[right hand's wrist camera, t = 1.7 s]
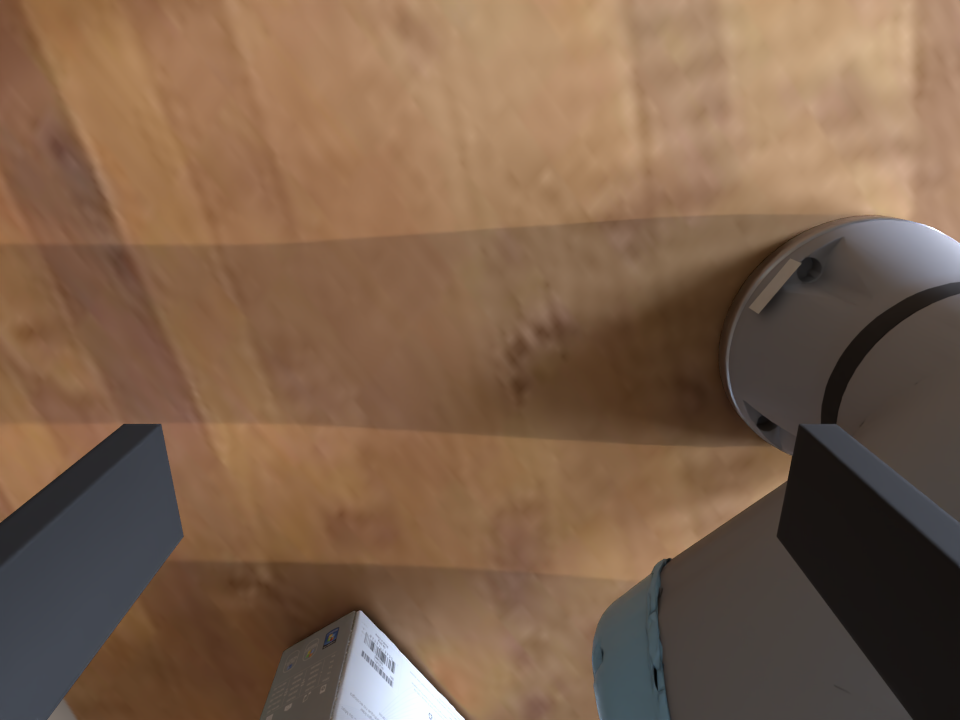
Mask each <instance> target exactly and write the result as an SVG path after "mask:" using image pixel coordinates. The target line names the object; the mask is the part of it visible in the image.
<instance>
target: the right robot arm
mask: <svg viewBox="0 0 960 720" xmlns="http://www.w3.org/2000/svg"><path fill="white" fill-rule="evenodd" d="M719 369H720V376H721V380H722V384H723V388H724V390H725V393H726V395H727V397H728V399H729V401H730V403H731V405H732V406H733V408H734V409H735V411H736V412H737V414H738V415H739V416H740V417H741V418H742V419H743V420H744V421H745V422H746V424H747V425H748V426H749V427H750V428H751V429H752V430H753V431H754V432H755V433H756V434H757V435H759V436H760V437H761V438H762V439H764V440H765V441H766V442H768V443H769V444H771V445H773V446H774V447H776V448H778V449H779V450H781V451H783V452H785V453H787V454H789V455H792V461H791V466H790V471H789V476H788V481H786V482H785V483H783V484H782V485H781V486H779V487H778V488H776V489H775V490H773V491H772V492H770V493H769V494H767V495H766V496H764V497H763V498H761V499H760V500H758V501H757V502H756V503H754V504H753V505H751V506H750V507H748V508H747V509H745V510H744V511H742V512H741V513H739V514H738V515H736V516H735V517H733V518H732V519H730V520H729V521H728V522H726V523H725V524H723V525H722V526H720V527H719V528H717V529H716V530H714V531H713V532H711V533H710V534H708V535H707V536H705V537H704V538H703V539H701V540H700V541H698V542H697V543H695V544H694V545H692V546H691V547H689V548H688V549H686V550H685V551H683V552H682V553H680V554H679V555H678V556H676V557H675V558H673V559H671V558H668V559H663V560H661V561H660V562H658V563H657V564H656V565H655V566H654V568H653V571H652V573H651V574H650V575H648V576H647V577H646V578H645V579H643V580H642V581H641V582H639V583H638V584H637V585H635V586H634V587H633V588H631V589H630V590H629V591H628V592H626V593H625V594H624V595H622V596H621V597H620V598H618V599H617V600H616V601H615V602H613V603H612V604H611V605H610V606H609V607H608V608H607V610H606V611H605V612H604V614H603V615H602V617H601V619H600V621H599V623H598V625H597V629H596V633H595V636H594V640H593V650H592V666H593V674H594V692H595V698H596V703H597V709H598V714H599V718H600V720H960V243H958V242H957V241H955V240H954V239H952V238H951V237H949V236H947V235H945V234H943V233H941V232H939V231H938V230H936V229H934V228H931V227H929V226H926V225H923V224H920V223H916V222H912V221H908V220H903V219H898V218H893V217H886V216H873V215H865V216H853V217H847V218H842V219H838V220H834V221H830V222H827V223H824V224H821V225H819V226H816V227H813V228H811V229H809V230H807V231H805V232H803V233H801V234H799V235H797V236H796V237H794V238H792V239H791V240H789V241H788V242H786V243H785V244H783V245H782V246H780V247H779V248H778V249H776V250H775V251H774V252H773V253H772V254H770V255H769V256H768V257H767V258H766V259H765V260H764V261H763V262H762V263H761V264H760V265H759V266H758V267H757V268H756V269H755V270H754V271H753V272H752V274H751V275H750V276H749V277H748V279H747V280H746V281H745V283H744V284H743V285H742V287H741V288H740V290H739V292H738V293H737V295H736V297H735V298H734V300H733V302H732V304H731V306H730V309H729V311H728V313H727V316H726V319H725V321H724V325H723V329H722V332H721V338H720V344H719ZM183 537H184V536H183V531H182V526H181V521H180V516H179V511H178V506H177V501H176V496H175V491H174V486H173V481H172V476H171V471H170V466H169V461H168V456H167V451H166V446H165V441H164V436H163V431H162V426H161V424H123V425H122V426H121V427H120V428H118V429H117V430H116V431H115V432H113V433H112V434H111V435H110V436H108V437H107V438H106V439H105V440H103V441H102V442H101V443H100V444H98V445H97V446H96V447H95V448H93V449H92V450H91V451H90V452H88V453H87V454H86V455H85V456H83V457H82V458H81V459H80V460H78V461H77V462H76V463H75V464H73V465H72V466H71V467H70V468H68V469H67V470H66V471H65V472H63V473H62V474H61V475H60V476H58V477H57V478H56V479H55V480H53V481H52V482H51V483H50V484H48V485H47V486H46V487H45V488H43V489H42V490H41V491H40V492H38V493H37V494H36V495H35V496H33V497H32V498H31V499H30V500H28V501H27V502H26V503H25V504H23V505H22V506H21V507H20V508H18V509H17V510H16V511H15V512H13V513H12V514H11V515H10V516H8V517H7V518H6V519H5V520H3V521H2V522H1V523H0V720H47V719H48V718H49V716H50V715H51V714H52V712H53V711H54V710H55V708H56V707H57V706H58V704H59V703H60V702H61V700H62V699H63V698H64V696H65V695H66V694H67V692H68V691H69V690H70V688H71V687H72V686H73V684H74V683H75V682H76V680H77V679H78V678H79V676H80V675H81V673H82V672H83V671H84V669H85V668H86V667H87V665H88V664H89V663H90V661H91V660H92V659H93V657H94V656H95V655H96V653H97V652H98V651H99V649H100V648H101V647H102V645H103V644H104V643H105V641H106V640H107V639H108V637H109V636H110V635H111V633H112V632H113V631H114V629H115V628H116V627H117V625H118V624H119V622H120V621H121V620H122V618H123V617H124V616H125V614H126V613H127V612H128V610H129V609H130V608H131V606H132V605H133V604H134V602H135V601H136V600H137V598H138V597H139V596H140V594H141V593H142V592H143V590H144V589H145V588H146V586H147V585H148V584H149V582H150V581H151V580H152V578H153V577H154V576H155V574H156V573H157V571H158V570H159V569H160V567H161V566H162V565H163V563H164V562H165V561H166V559H167V558H168V557H169V555H170V554H171V553H172V551H173V550H174V549H175V547H176V546H177V545H178V543H179V542H180V541H181V539H182V538H183Z"/></svg>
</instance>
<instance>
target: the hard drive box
mask: <svg viewBox="0 0 960 720" xmlns="http://www.w3.org/2000/svg"><path fill="white" fill-rule="evenodd" d="M260 720H465V719H464V718H463V717H462V716H461V715H460V714H459V713H458V712H457V711H456V710H455V708H454V707H453V706H452V705H451V704H450V703H449V702H448V701H447V700H446V698H445V697H444V696H443V695H441V694H440V693H439V692H438V691H437V690H436V689H435V688H434V687H433V686H432V685H431V684H430V682H429V681H428V680H427V679H426V678H425V677H424V676H423V675H422V674H421V673H420V672H419V671H418V670H417V669H416V668H415V667H414V666H413V665H412V663H411V662H410V661H409V660H408V659H407V658H406V657H405V656H404V655H403V654H402V653H401V652H400V651H399V650H398V648H397V647H396V645H395V644H393V643H392V642H391V641H390V640H389V638H388V637H387V636H386V635H385V634H384V633H383V632H382V631H380V630H379V629H378V628H377V627H376V626H375V625H374V623H373V622H372V621H371V620H370V619H369V618H368V617H367V616H366V615H365V614H364V613H363V612H362V611H360V610H359V611H357V612H356V611H352V612H351V613H349V614H347V615H345V616H343V617H342V618H340V619H338V620H337V621H335V622H333V623H331V624H330V625H328V626H326V627H325V628H323V629H321V630H319V631H318V632H316V633H314V634H312V635H311V636H309V637H307V638H306V639H304V640H302V641H300V642H298V643H297V644H295V645H293V646H291V647H290V648H288V649H286V650H285V651H283V654H282V657H281V660H280V663H279V666H278V669H277V671H276V674H275V677H274V680H273V683H272V686H271V689H270V692H269V695H268V697H267V700H266V703H265V706H264V709H263V711H262V714H261V717H260Z"/></svg>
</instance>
